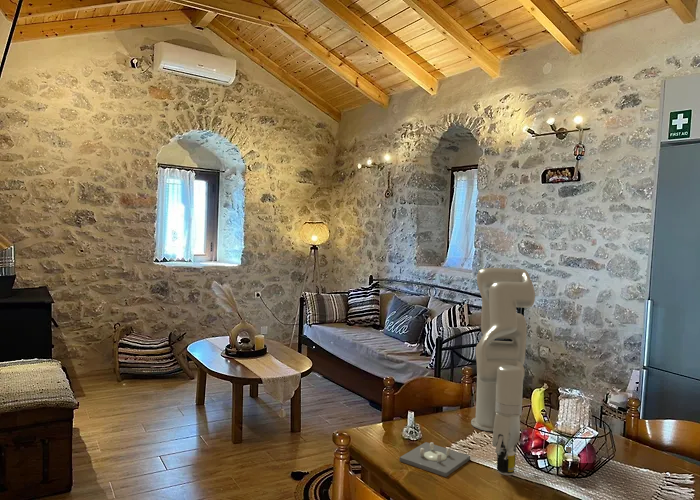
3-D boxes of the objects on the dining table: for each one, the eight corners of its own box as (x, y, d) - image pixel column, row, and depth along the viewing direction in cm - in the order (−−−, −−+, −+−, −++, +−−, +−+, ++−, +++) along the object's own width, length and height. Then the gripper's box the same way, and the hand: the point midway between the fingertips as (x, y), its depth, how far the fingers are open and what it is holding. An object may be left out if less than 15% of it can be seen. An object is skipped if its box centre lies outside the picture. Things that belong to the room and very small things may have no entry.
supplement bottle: (514, 470, 160) (515, 442, 160) (514, 477, 156) (515, 448, 156) (498, 467, 162) (499, 440, 162) (497, 474, 158) (498, 446, 157)
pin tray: (425, 445, 177) (426, 434, 177) (470, 459, 167) (470, 447, 167) (399, 461, 165) (399, 449, 164) (445, 477, 155) (446, 464, 155)
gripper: (507, 398, 167) (505, 455, 168) (484, 412, 154) (482, 474, 155) (531, 403, 163) (528, 462, 163) (509, 418, 149) (507, 482, 150)
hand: (506, 467), depth 159 cm, fingers closed on supplement bottle, 4 cm apart
